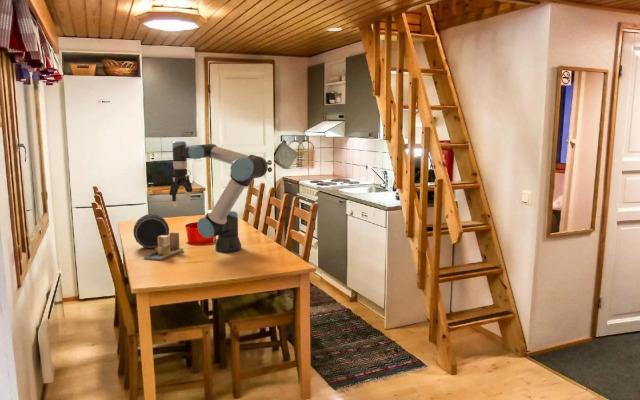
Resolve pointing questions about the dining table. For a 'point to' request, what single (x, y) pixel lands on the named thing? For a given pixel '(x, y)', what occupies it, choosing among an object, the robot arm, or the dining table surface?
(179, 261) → the dining table surface
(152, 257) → the grey board with posts
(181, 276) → the dining table surface
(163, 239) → the block
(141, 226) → the dark studded bowl
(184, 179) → the robot arm
